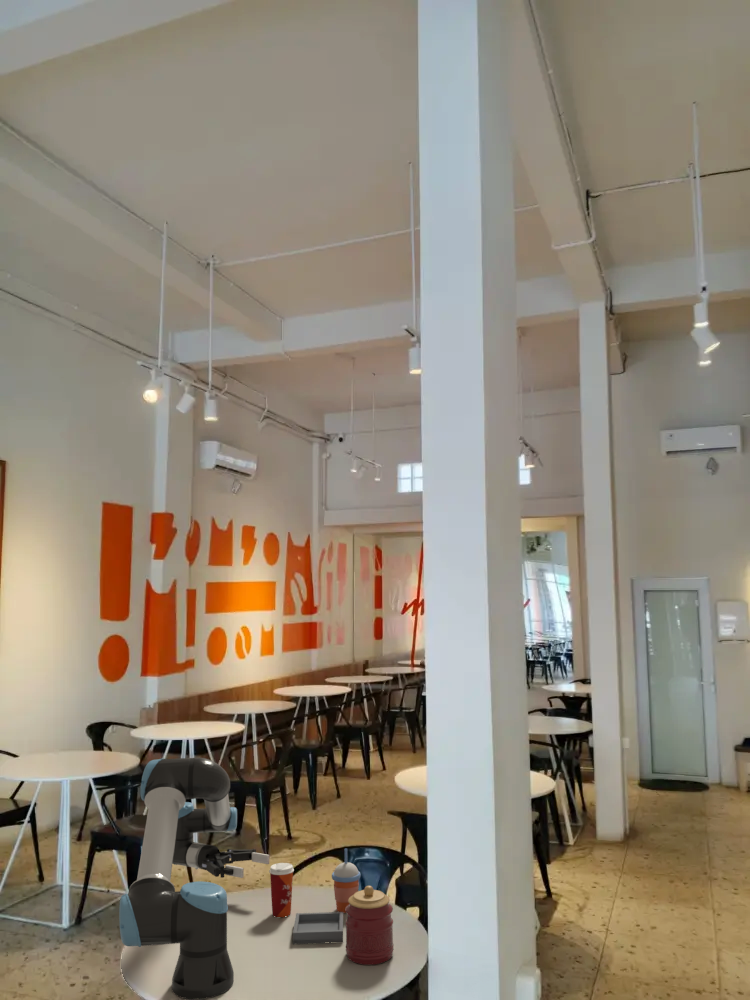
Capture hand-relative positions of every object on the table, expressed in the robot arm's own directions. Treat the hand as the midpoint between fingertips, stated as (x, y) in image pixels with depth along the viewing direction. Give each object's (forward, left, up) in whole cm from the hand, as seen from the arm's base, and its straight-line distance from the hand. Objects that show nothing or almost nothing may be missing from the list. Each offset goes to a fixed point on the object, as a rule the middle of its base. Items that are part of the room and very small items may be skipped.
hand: (256, 866), depth 244 cm
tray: (+20, -20, -13) cm, 31 cm away
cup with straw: (+28, -3, -13) cm, 31 cm away
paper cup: (+8, -5, -13) cm, 16 cm away
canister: (+35, -36, -13) cm, 52 cm away
